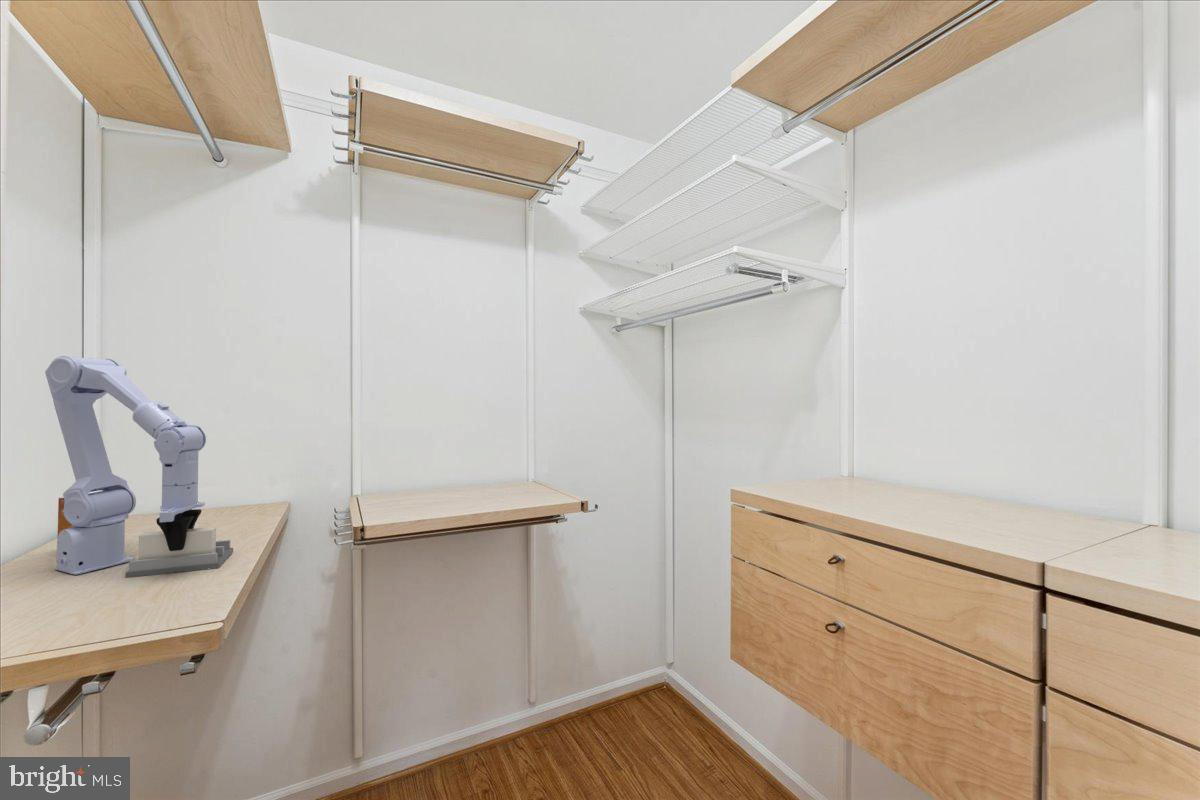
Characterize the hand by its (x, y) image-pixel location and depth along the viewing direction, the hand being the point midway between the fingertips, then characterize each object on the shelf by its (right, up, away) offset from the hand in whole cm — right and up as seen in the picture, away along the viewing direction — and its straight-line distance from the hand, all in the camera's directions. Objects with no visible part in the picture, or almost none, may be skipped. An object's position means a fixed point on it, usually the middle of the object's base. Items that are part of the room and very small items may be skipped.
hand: (179, 547), depth 101 cm
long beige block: (0, -3, 0) cm, 3 cm away
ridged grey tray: (-1, -4, +2) cm, 5 cm away
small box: (-29, -4, +10) cm, 31 cm away
